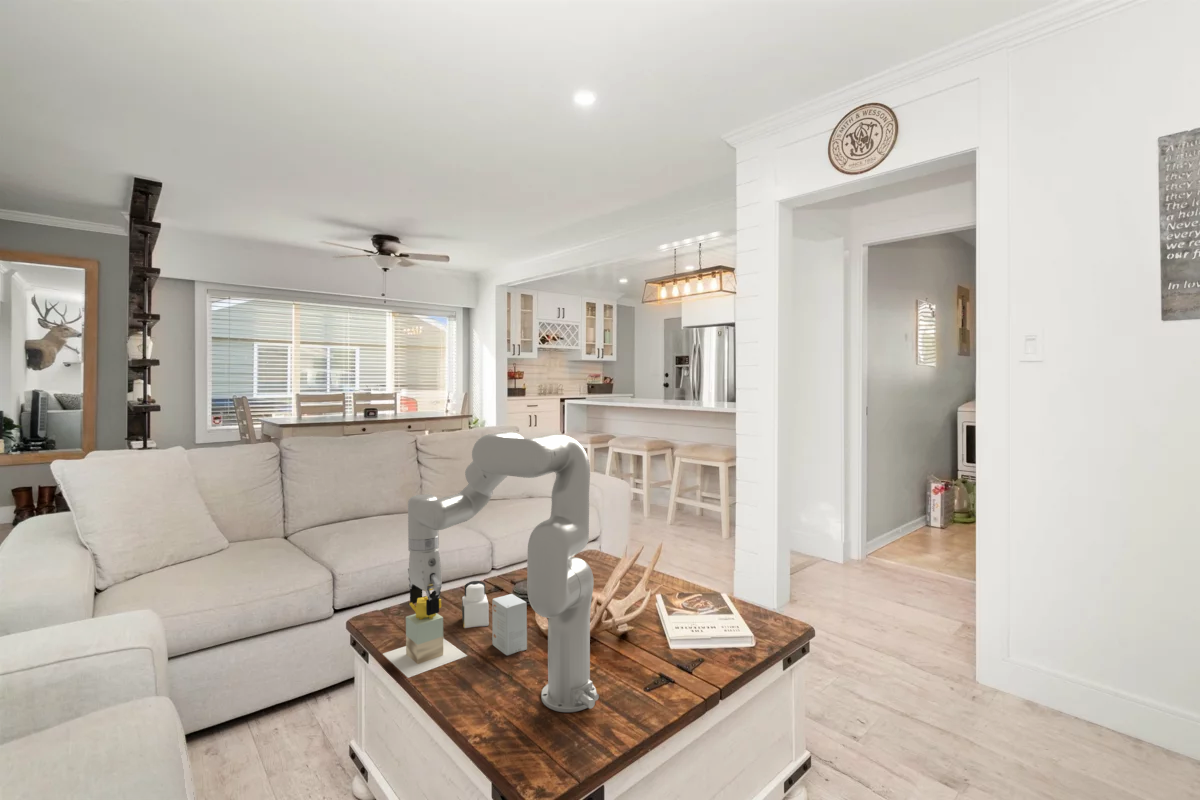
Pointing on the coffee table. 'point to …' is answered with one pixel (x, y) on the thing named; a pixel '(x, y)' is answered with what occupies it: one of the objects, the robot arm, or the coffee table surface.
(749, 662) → the coffee table surface
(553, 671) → the robot arm
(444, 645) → the felt pad
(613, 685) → the coffee table surface
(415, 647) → the tower bottom
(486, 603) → the medicine bottle
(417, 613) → the teapot
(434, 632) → the tower top
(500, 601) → the small box
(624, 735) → the coffee table surface
